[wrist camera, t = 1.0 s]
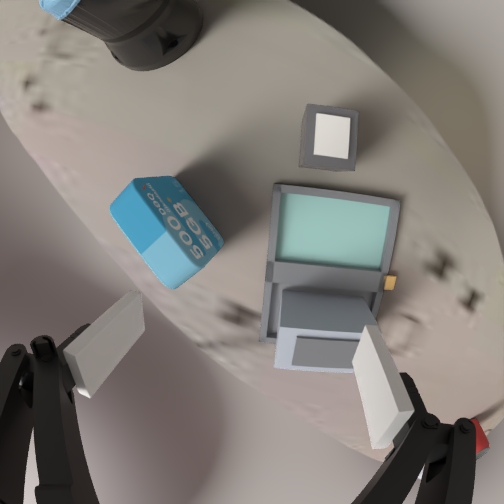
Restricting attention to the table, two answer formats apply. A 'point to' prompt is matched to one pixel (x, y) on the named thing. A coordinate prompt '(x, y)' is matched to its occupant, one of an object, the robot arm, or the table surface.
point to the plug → (328, 138)
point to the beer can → (480, 440)
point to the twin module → (320, 331)
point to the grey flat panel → (327, 247)
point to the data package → (166, 228)
